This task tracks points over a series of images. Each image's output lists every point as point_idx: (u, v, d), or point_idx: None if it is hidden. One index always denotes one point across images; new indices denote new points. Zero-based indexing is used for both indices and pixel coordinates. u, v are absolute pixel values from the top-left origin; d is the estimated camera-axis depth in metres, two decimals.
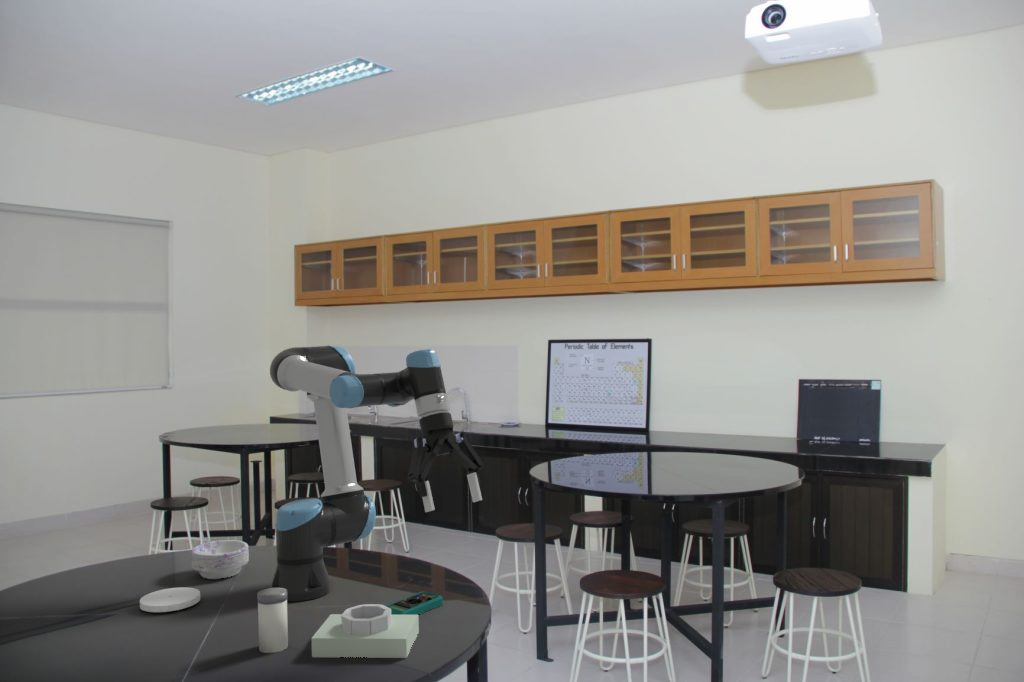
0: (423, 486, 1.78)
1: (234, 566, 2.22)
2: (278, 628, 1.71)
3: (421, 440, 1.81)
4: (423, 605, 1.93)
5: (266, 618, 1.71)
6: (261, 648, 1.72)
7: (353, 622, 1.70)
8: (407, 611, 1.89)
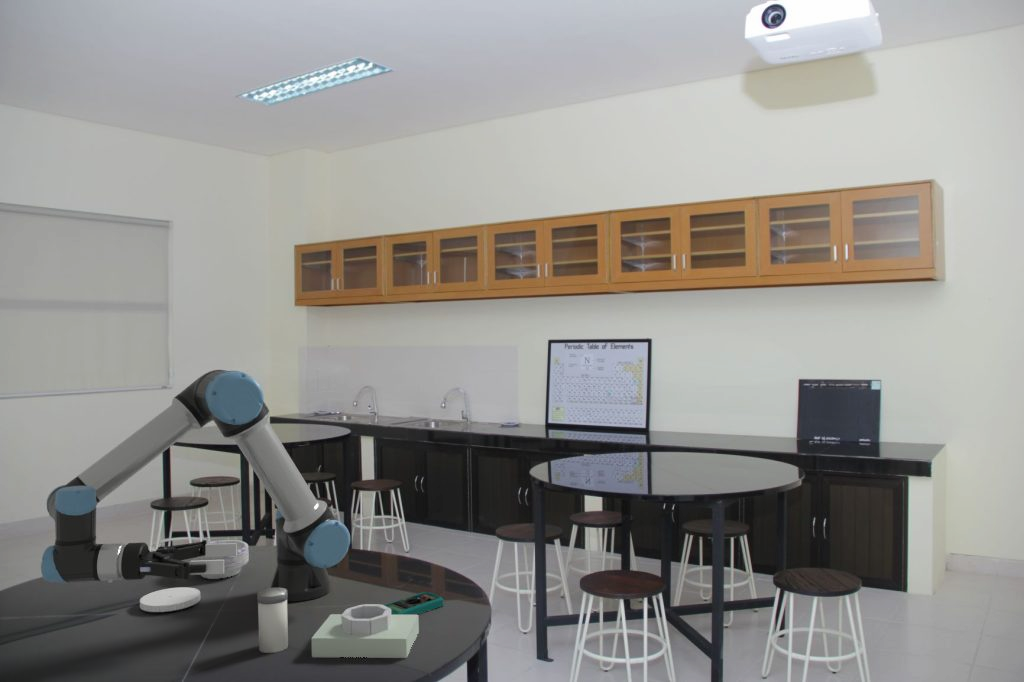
0: None
1: (234, 565, 2.22)
2: (278, 628, 1.71)
3: None
4: (421, 606, 1.93)
5: (266, 618, 1.71)
6: (261, 648, 1.72)
7: (353, 622, 1.70)
8: (403, 611, 1.89)
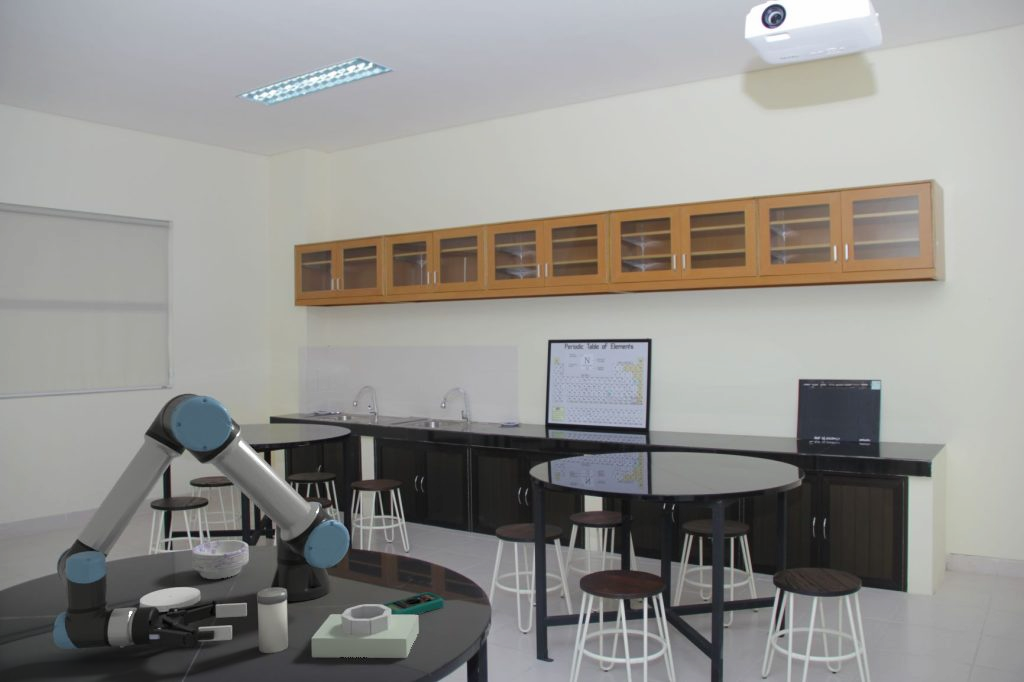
0: None
1: (234, 566, 2.22)
2: (278, 628, 1.71)
3: None
4: (420, 606, 1.92)
5: (266, 618, 1.71)
6: (261, 648, 1.72)
7: (353, 622, 1.70)
8: (400, 611, 1.89)
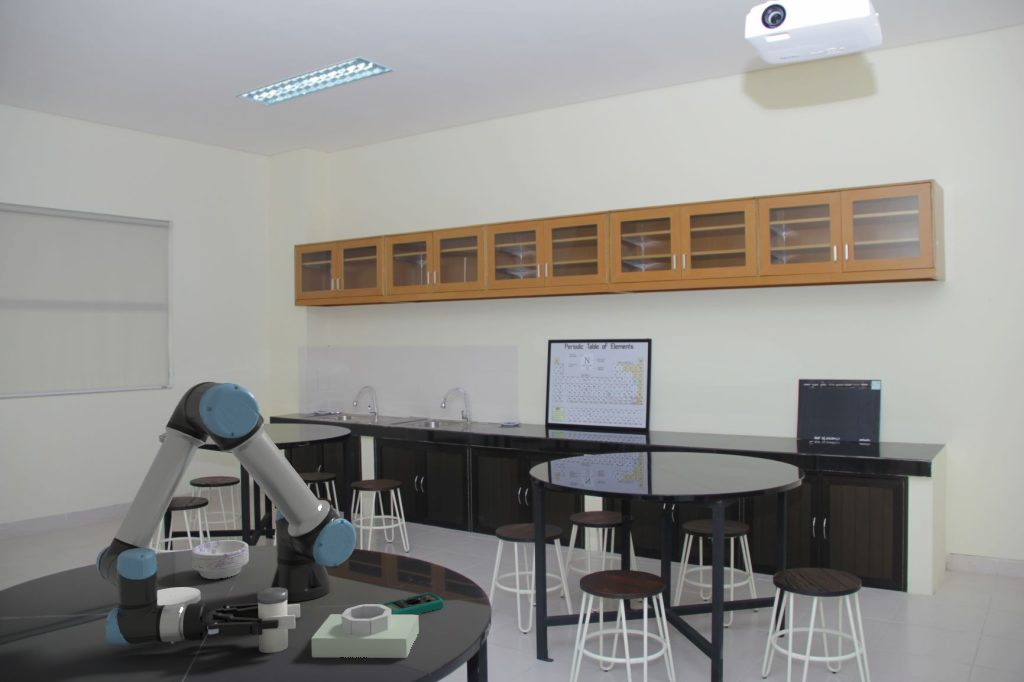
0: None
1: (234, 566, 2.22)
2: None
3: None
4: (418, 606, 1.92)
5: None
6: (261, 648, 1.72)
7: (353, 622, 1.70)
8: (398, 611, 1.89)
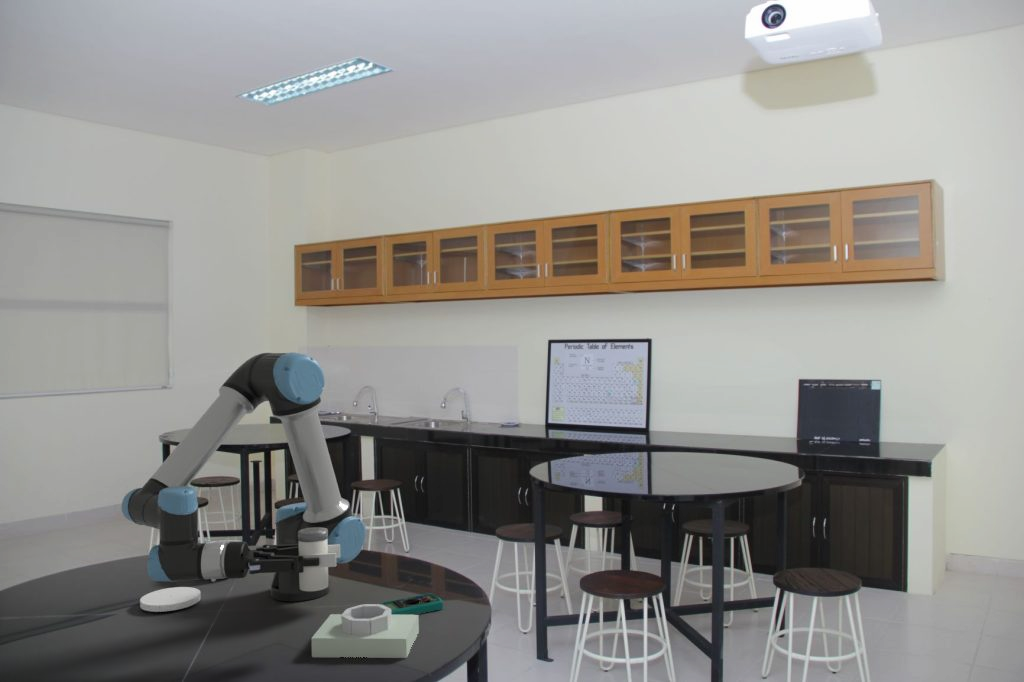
0: None
1: None
2: None
3: None
4: (416, 607, 1.92)
5: None
6: (302, 586, 1.70)
7: (353, 622, 1.70)
8: (395, 611, 1.89)
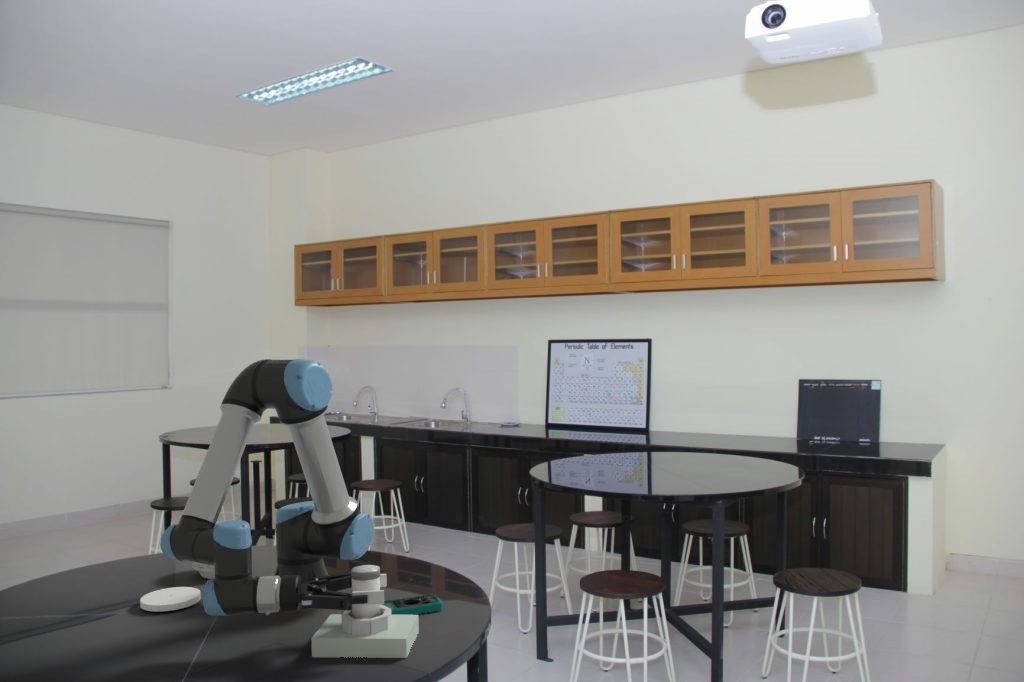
0: None
1: None
2: (373, 604, 1.72)
3: None
4: (414, 607, 1.92)
5: None
6: None
7: (353, 622, 1.70)
8: (391, 610, 1.90)
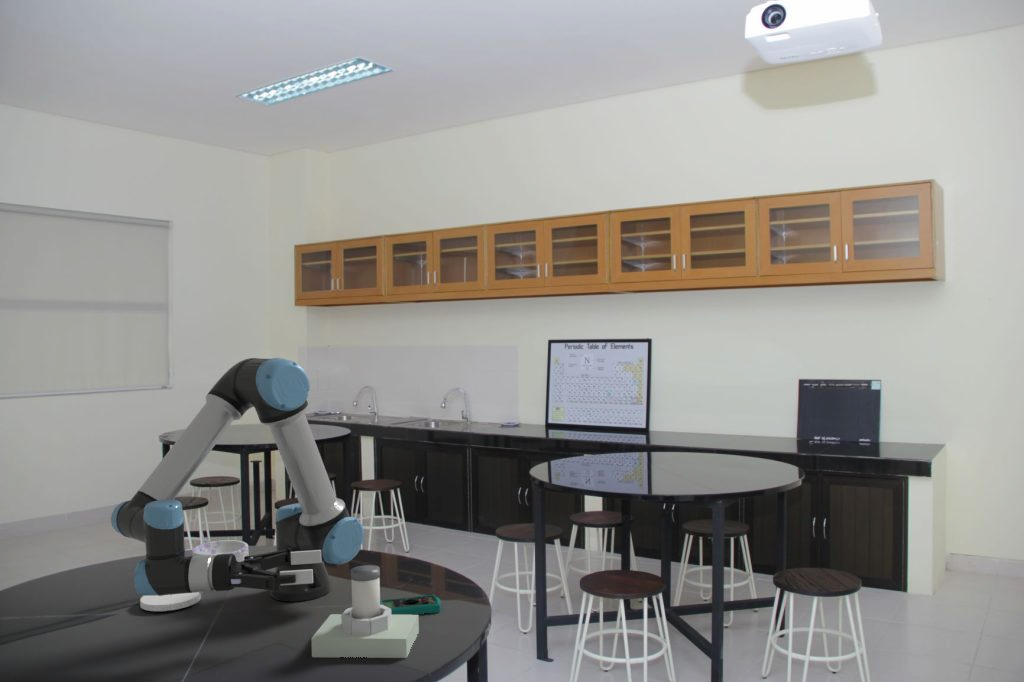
0: None
1: None
2: (373, 605, 1.72)
3: None
4: (411, 608, 1.92)
5: (361, 595, 1.71)
6: None
7: (353, 622, 1.70)
8: None
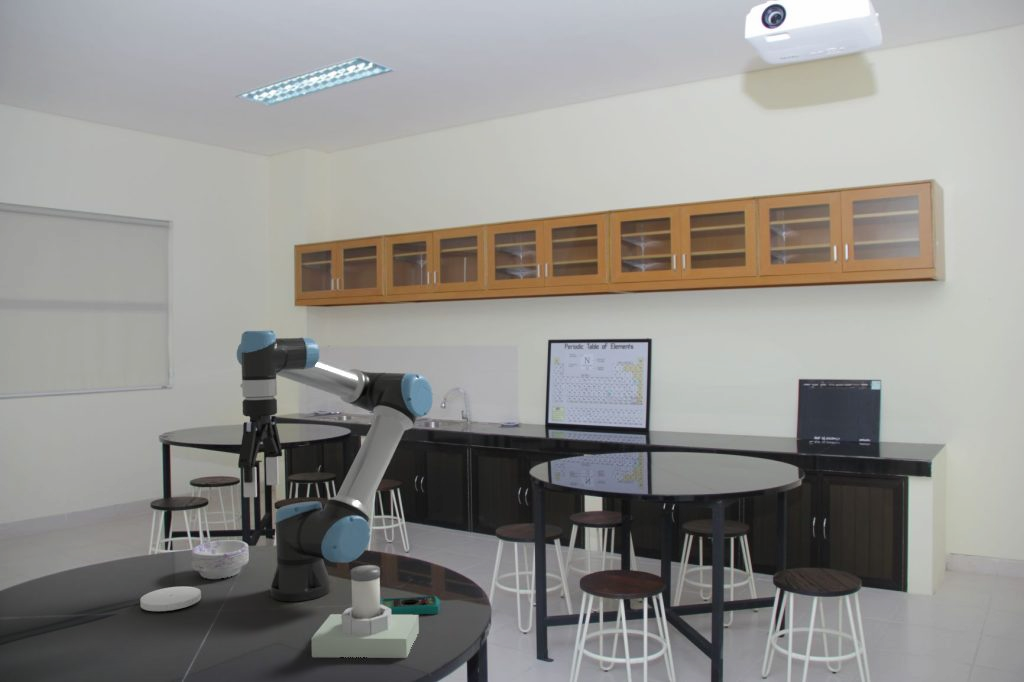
0: None
1: (234, 566, 2.22)
2: (373, 605, 1.72)
3: None
4: (409, 608, 1.92)
5: (361, 595, 1.71)
6: None
7: (353, 622, 1.70)
8: None
